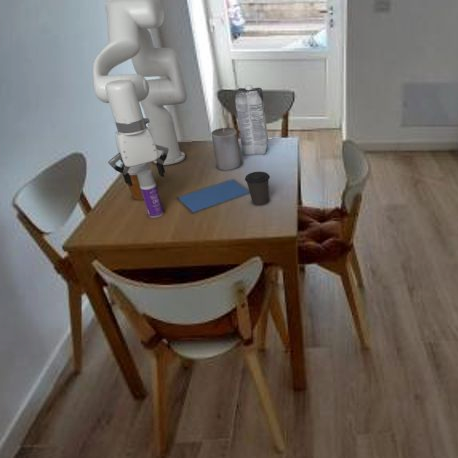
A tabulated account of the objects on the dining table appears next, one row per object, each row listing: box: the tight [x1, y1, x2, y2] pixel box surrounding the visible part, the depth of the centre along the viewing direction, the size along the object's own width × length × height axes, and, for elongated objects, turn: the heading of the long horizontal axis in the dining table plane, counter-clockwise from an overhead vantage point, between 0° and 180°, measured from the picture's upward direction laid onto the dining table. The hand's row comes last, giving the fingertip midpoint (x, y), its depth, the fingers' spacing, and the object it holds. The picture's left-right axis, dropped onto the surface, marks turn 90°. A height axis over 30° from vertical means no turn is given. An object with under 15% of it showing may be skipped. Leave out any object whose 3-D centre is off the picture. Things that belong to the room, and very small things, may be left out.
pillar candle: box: [211, 127, 243, 171], centre depth 166 cm, size 10×10×15 cm
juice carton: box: [234, 84, 269, 156], centre depth 174 cm, size 9×10×27 cm
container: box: [137, 168, 165, 219], centre depth 135 cm, size 5×5×15 cm
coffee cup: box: [244, 171, 271, 206], centre depth 142 cm, size 8×8×10 cm
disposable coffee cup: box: [119, 162, 151, 201], centre depth 147 cm, size 10×10×12 cm
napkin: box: [177, 179, 250, 213], centre depth 149 cm, size 13×21×1 cm, turn 129°
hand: (146, 180), depth 132 cm, fingers open, 9 cm apart
